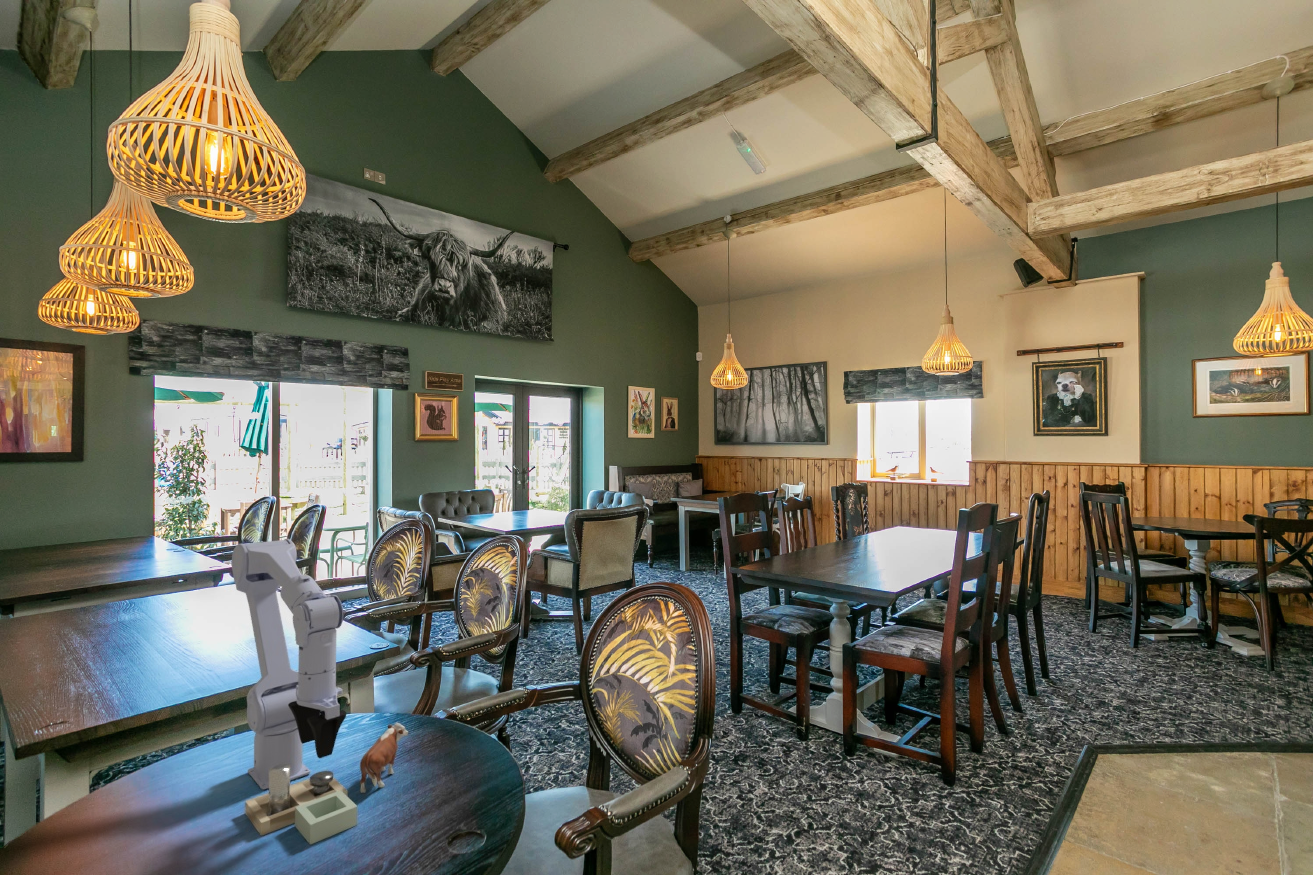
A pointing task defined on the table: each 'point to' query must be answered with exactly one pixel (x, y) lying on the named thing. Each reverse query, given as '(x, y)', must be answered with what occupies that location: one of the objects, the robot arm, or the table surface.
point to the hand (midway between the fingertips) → (316, 748)
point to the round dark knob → (321, 782)
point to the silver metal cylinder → (279, 789)
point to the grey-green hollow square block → (325, 816)
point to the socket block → (298, 796)
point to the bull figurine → (381, 755)
